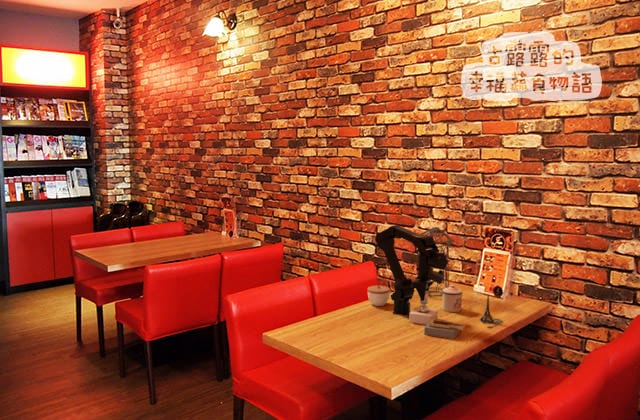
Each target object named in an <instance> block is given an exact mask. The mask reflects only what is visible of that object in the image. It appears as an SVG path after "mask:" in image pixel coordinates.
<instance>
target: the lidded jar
mask: <svg viewBox="0 0 640 420" xmlns="http://www.w3.org/2000/svg"><path fill="white" fill-rule="evenodd" d="M390 293H391V289H390V287H388V286H385V285H380V284H379V285H371V286H368V287H367V297H368V300H369V302H370V303H371V304H372V306H376V307H383V306H385V305H386V304H387V303H388V301H389V299H390V297H391V295H390Z"/></svg>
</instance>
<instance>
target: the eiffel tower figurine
mask: <svg viewBox="0 0 640 420" xmlns="http://www.w3.org/2000/svg"><path fill="white" fill-rule="evenodd" d="M486 297H487V299H486V306H485V311H484V313H483V315H482V316H481V318H479V321H480V322H481V323H482V324H483V325H485V324H486V325H487V324H489V325H490V324H493V326H486V328H487V329H493V328H495V327H496V326H498V325H500V324H503V323H504V321H503V319H500V318H494V316H492V314H491V310H490V295H489V294H487V295H486ZM493 318H494V319H493Z"/></svg>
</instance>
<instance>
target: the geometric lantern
mask: <svg viewBox="0 0 640 420" xmlns="http://www.w3.org/2000/svg"><path fill="white" fill-rule="evenodd" d="M434 233H435V234H434ZM440 233H441V234H440ZM420 234H422V235H429V236H432V237H434V242H435V244H436V245H437V247H438V250H439V252H440V253H445V256H446V258H447V260H448V264H447V267H446V268H445V269H442V271H444V275H445V278H444V280H443V282H442V283H441V284H438V283H436V286H430V287H429V291H428V297H439V296H440V297H441V296H442V297H443V292H442V291H443V289H445V288H448V287H450V279H449V277H450V276H449V275H450V273H449V272H450V270H449V269H450V268H449V267H450V266H449V261H450V260H449V258H450V257H449V253H450V246H451V245H452V244H453V243H454V242H455V239H454V238H453V237H451V236H450V235H448V234H447V233H446V232H445V231H444V230H442V229H441V228H440V227H437V226H433V227H431V228H430V229H427V230H425V231H423V232H421V233H420ZM444 236H445V237H446V240H445V241H443V240H442V238H443V237H444ZM437 237H439V238H438V239H437ZM439 240H440V241H439ZM443 243H444V244H443ZM440 244H442V245H440ZM447 246H448V250H447V252H446V251H445V250H446V248H447ZM443 247H444V248H443ZM439 248H440V249H439ZM438 269H439V268H438ZM440 270H441V269H439V270H438V271H440ZM431 282H434V281H432V280H431ZM434 283H435V282H434ZM442 285H444V286H445V288H443V287H442V288H441V286H442ZM432 290H435V291H432ZM431 293H433V294H434V293H439V294H434V295H432V294H431Z"/></svg>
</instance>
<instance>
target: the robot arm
mask: <svg viewBox="0 0 640 420" xmlns="http://www.w3.org/2000/svg"><path fill="white" fill-rule="evenodd" d="M397 237H398V238H400V239H403V240H404V241H407V242H410V243H411V244H412V245H413V247H414V248H416V250H415V251H414V252H413V253H414V254H417V255H418V256H417V267H416V270H417V276H416V279H414V281H413V280H412V278H407V277H406V275H405V273H404V270H403V268H402V265H401V262H400V260H399V258H398V255H397V252H396V250H395V242H396V241H395V239H396V238H397ZM374 240H375V243H376V246H377V247H378V248H379V249H380V250H381V251H383V253H384V256H385V258H386V261H387V264H388V266H389V269H390V271H391V274H392V277H393V279H394V285H393V288H394V291H393V293H392V294H391V295H390V298H391V300H392V301H393V311H392V314H394V315H401V316H407V315H408V314H409V313H410V312H411V302H410V300H413V299H412V298H413V296H414V294H415V291H416V292H417V294H418V296H419V300H420V299H421V301H424V299H425V294H426V290H427V291H430V289H429V287H432V285H433V284H434V283H436V284H438V285H441V284H442V282H443V280H444V281H445V268H446V269H447V267H448V260H447V256H445V255H446V253H443V252H442V253H441V251H439V250H440V249H439V248H438V245H437V243H436V244H435V242H434V241H435V239H434V236H431V235H430V236H429V235H426V234H423V235H422V234H421V233H417V232H415V231H412V230H409V229H407V228H405V227H402V226H401V225H399V224H396V225H390V226H388V227H387V228H386V229H384V230H382V231H380V232H377V233H376V234H375V237H374ZM434 268H435V269H440V271H439V270H438V271H437V270H436V271H435V270H434ZM443 269H444V271H443ZM431 281H434V282H431ZM415 289H416V290H415Z"/></svg>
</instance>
